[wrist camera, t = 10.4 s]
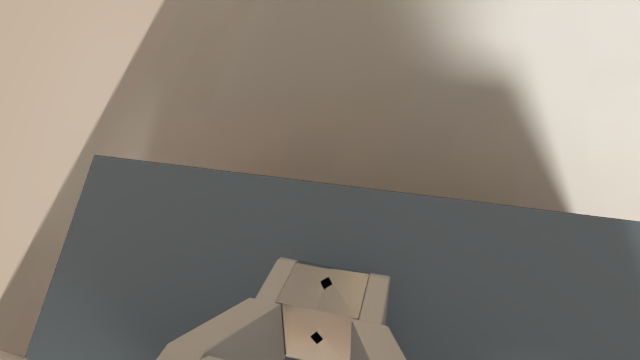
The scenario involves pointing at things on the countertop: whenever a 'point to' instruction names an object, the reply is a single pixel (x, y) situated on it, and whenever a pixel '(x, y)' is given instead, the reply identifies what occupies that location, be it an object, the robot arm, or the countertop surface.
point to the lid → (335, 265)
